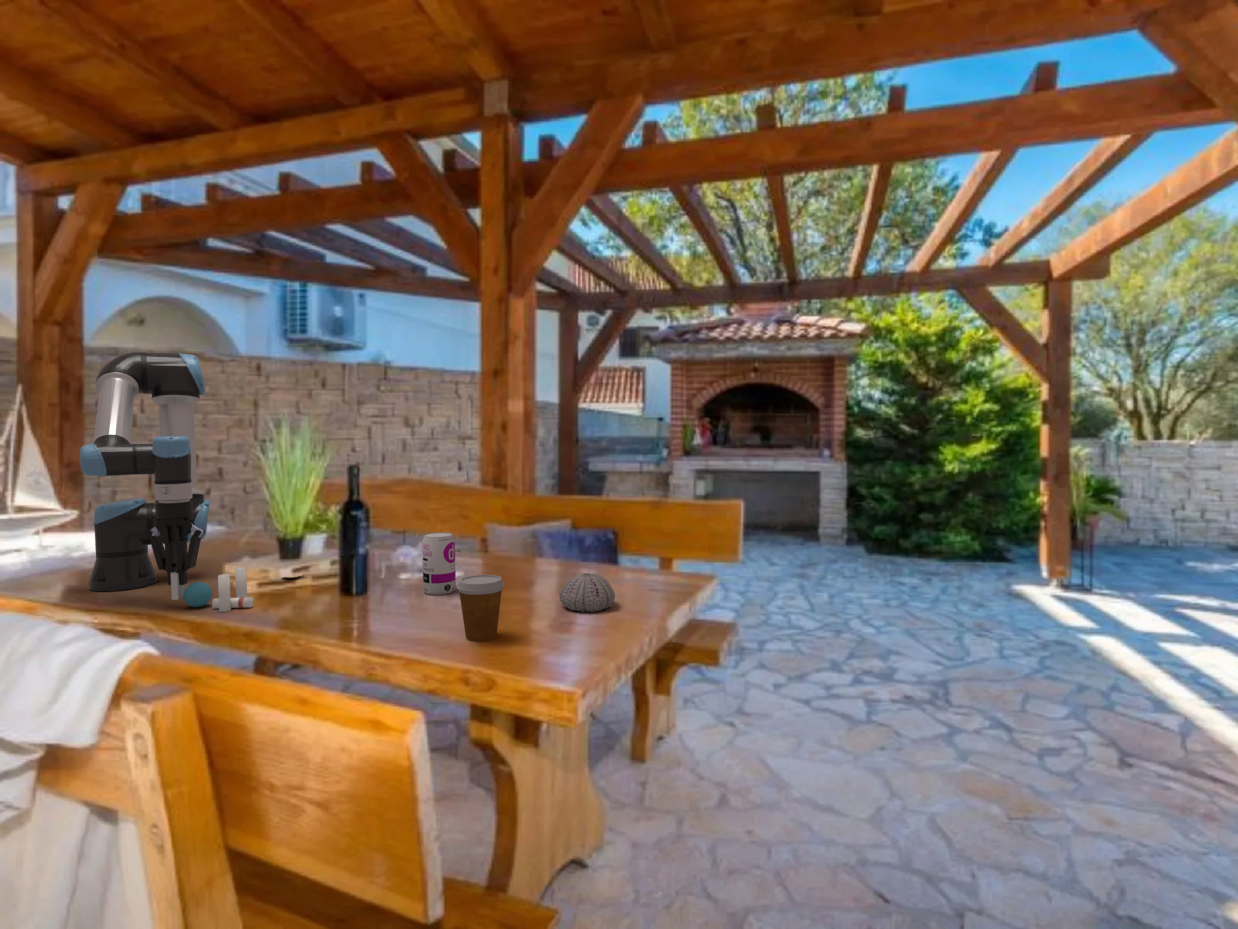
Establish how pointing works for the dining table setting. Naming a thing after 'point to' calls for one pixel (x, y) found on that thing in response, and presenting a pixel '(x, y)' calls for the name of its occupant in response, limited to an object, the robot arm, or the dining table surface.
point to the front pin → (236, 602)
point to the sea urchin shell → (587, 593)
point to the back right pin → (224, 592)
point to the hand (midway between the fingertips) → (178, 598)
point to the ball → (197, 594)
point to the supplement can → (439, 563)
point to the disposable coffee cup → (480, 605)
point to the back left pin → (241, 582)
